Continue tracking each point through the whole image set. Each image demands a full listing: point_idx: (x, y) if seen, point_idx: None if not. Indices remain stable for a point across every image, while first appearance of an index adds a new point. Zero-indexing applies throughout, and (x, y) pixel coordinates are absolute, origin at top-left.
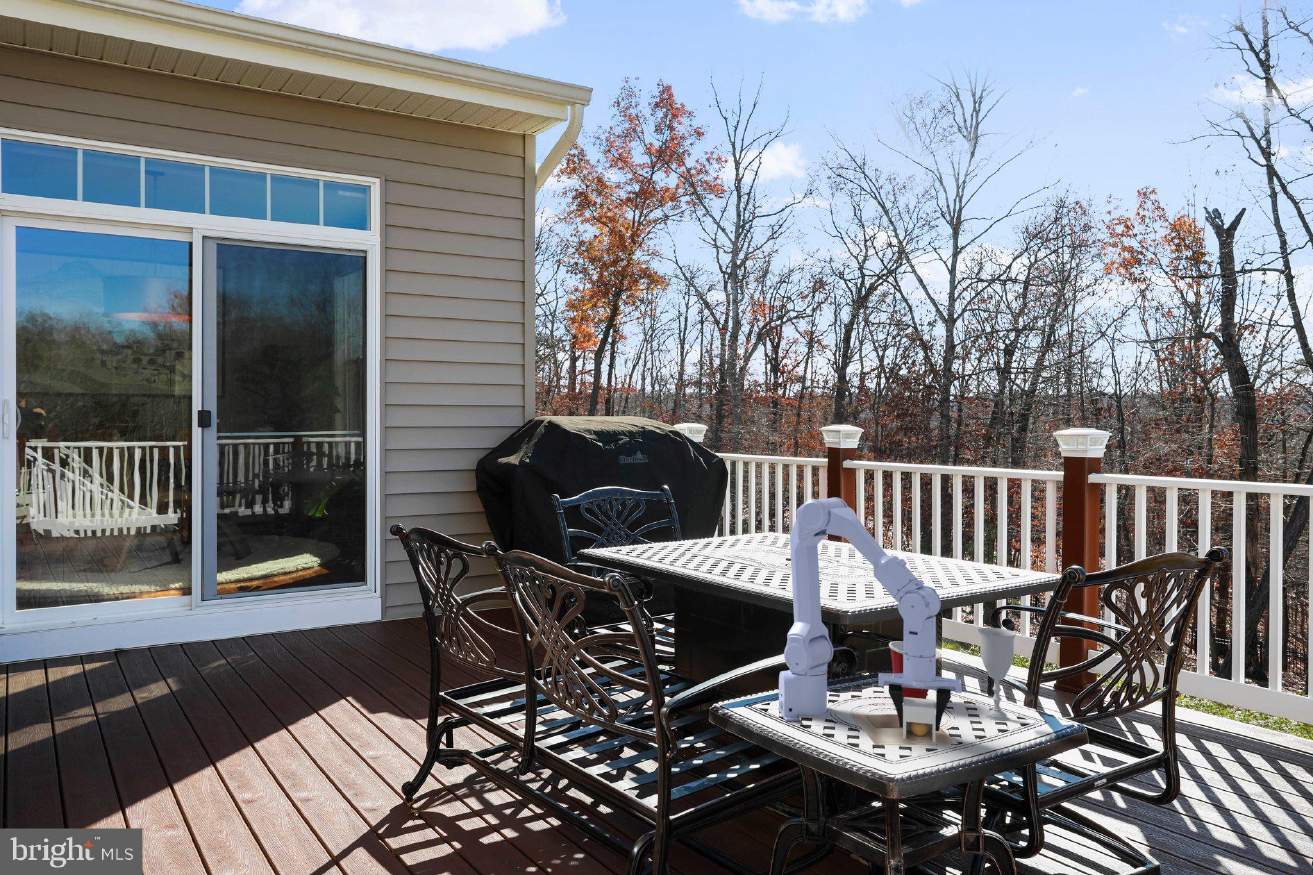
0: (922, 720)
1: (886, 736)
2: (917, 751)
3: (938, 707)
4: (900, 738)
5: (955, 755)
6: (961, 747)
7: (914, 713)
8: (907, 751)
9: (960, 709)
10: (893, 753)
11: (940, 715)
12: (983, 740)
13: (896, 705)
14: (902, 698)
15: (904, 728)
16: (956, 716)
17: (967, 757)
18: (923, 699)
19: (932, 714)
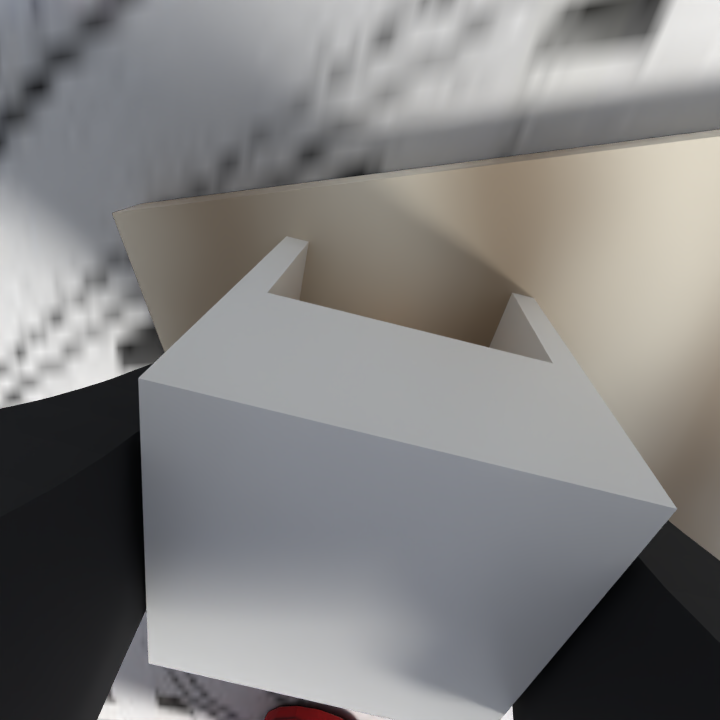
0: (373, 331)
1: (652, 342)
2: (450, 155)
3: (92, 432)
4: (551, 305)
5: (164, 86)
6: (121, 271)
7: (475, 394)
8: (536, 146)
9: (130, 687)
10: (691, 75)
11: (137, 378)
12: (7, 392)
13: (712, 562)
14: (629, 685)
15: (547, 330)
16: (146, 640)
17: (73, 44)
18: (277, 679)
19: (228, 342)
